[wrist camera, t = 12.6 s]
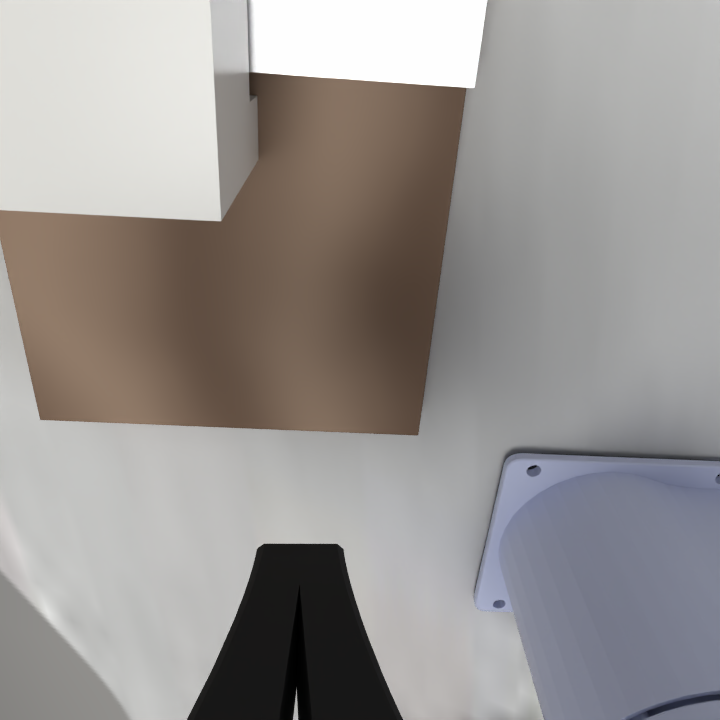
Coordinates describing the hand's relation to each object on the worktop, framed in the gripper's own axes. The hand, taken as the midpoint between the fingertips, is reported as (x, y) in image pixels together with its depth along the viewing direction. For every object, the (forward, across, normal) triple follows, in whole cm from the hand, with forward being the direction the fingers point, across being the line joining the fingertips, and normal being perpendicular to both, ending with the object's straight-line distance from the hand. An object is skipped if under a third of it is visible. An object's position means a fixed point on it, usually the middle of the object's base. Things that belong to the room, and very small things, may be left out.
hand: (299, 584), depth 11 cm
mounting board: (+11, +2, -4) cm, 12 cm away
